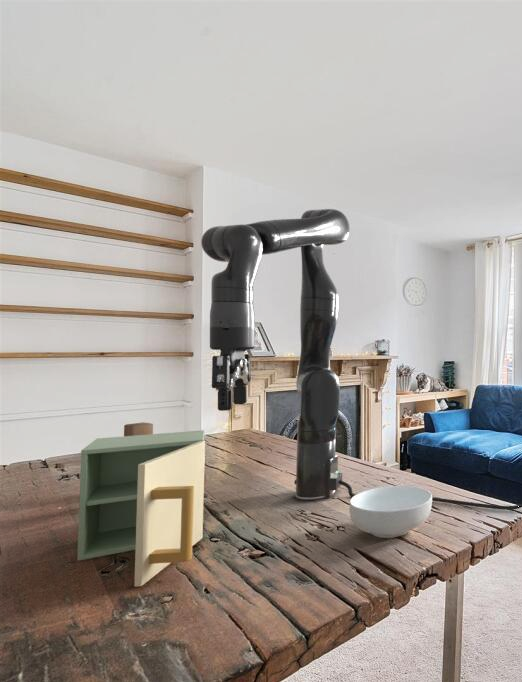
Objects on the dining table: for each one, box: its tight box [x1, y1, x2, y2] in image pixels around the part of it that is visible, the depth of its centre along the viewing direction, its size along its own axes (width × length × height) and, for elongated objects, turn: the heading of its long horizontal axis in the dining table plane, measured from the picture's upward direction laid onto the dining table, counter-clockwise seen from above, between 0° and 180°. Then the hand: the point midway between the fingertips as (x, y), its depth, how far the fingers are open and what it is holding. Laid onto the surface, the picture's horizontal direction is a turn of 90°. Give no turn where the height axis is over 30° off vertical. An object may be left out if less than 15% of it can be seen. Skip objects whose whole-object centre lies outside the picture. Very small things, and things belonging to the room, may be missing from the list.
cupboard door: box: [133, 440, 206, 588], centre depth 77 cm, size 7×18×19 cm, turn 9°
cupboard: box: [76, 429, 205, 561], centre depth 86 cm, size 12×18×20 cm
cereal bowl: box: [348, 485, 433, 539], centre depth 91 cm, size 17×17×7 cm
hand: (232, 407), depth 85 cm, fingers open, 8 cm apart
